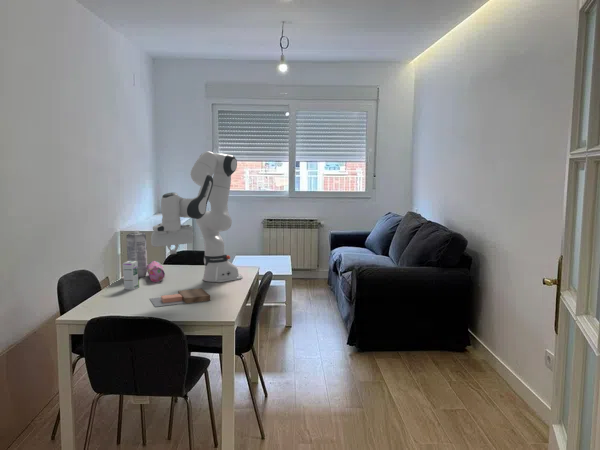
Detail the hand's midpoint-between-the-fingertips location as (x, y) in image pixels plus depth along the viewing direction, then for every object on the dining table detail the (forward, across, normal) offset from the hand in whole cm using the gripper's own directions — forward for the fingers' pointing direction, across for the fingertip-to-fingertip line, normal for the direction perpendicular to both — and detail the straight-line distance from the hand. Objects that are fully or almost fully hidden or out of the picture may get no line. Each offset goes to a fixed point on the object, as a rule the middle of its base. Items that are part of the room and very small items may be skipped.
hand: (173, 253), depth 255 cm
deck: (+22, -7, +7) cm, 24 cm away
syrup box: (+22, +17, -29) cm, 40 cm away
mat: (+22, +6, +7) cm, 23 cm away
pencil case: (+22, +1, -48) cm, 53 cm away
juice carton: (+22, +9, -59) cm, 64 cm away
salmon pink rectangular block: (+21, +4, +7) cm, 23 cm away
